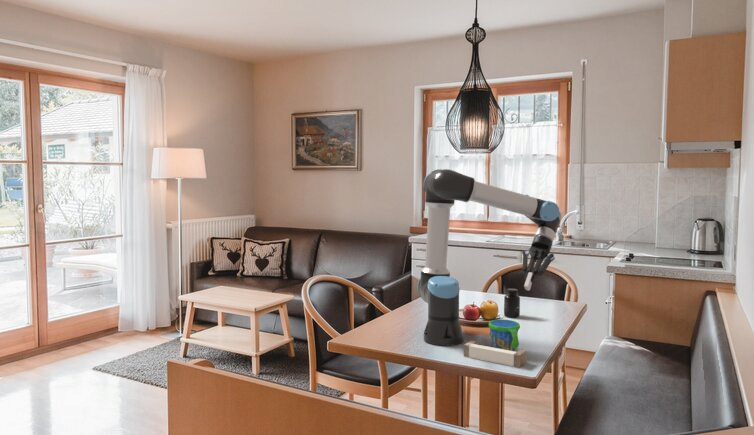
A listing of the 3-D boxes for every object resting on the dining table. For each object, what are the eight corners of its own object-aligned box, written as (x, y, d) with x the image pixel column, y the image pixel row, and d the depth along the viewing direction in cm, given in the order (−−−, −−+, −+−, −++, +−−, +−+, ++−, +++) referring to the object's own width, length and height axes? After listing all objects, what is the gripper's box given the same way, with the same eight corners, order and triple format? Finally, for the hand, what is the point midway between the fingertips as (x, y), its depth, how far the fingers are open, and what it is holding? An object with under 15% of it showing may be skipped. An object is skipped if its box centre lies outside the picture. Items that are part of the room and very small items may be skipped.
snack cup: (527, 357, 188) (528, 328, 188) (499, 359, 186) (499, 330, 185) (508, 343, 204) (508, 316, 203) (481, 345, 201) (481, 318, 201)
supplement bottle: (520, 318, 239) (520, 291, 238) (504, 317, 241) (504, 290, 240) (519, 314, 246) (519, 288, 245) (503, 313, 247) (503, 287, 246)
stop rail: (463, 356, 190) (463, 344, 189) (471, 351, 195) (471, 340, 194) (519, 367, 178) (519, 355, 178) (526, 362, 183) (526, 350, 183)
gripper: (561, 248, 220) (545, 296, 207) (529, 245, 227) (512, 291, 215) (557, 235, 215) (541, 284, 203) (525, 233, 223) (507, 280, 210)
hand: (526, 288), depth 209 cm, fingers closed
